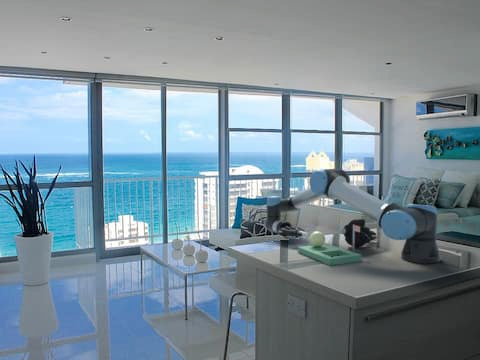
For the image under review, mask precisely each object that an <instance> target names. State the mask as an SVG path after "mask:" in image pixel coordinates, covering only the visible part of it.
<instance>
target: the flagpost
mask: <svg viewBox="0 0 480 360" xmlns="http://www.w3.org/2000/svg"><path fill="white" fill-rule="evenodd" d="M355 231H357V232H360V226H356V225H353V246H352V252H354V253H356V252H355V249H356V248H355Z"/></svg>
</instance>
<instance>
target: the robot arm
mask: <svg viewBox="0 0 480 360" xmlns="http://www.w3.org/2000/svg"><path fill="white" fill-rule="evenodd" d="M308 181H309V188H306V189H305V190H302V191H301V192H299V193H296V194H295V195H293V196H290V197H288V198H282V197H281V196H279V195H269V196H267V198H266V218H265V220H264V221H263V227H264V228H265V229H266V230H267V231H269V232H271V233H275V234H276V235H277V234H278V236H283V237H288V236H290V237H295V239H297V238H302V239H304V240H307V239H308V240H309V233H308V232H306V230H305V229H303V228H302V227H301V226H298V227H297V228H296V227H295V226H293V225H292V223H291V222H289V221H285V220H283V219H282V213H290V212H296V211H297V212H298V211H299V210H300V209H301V208H302V207H305V206H307V205H310V204H312V203H314V202H316V201H320V199H323V198H328V199H330V200H332V201H333V200H338V201H341V202H342V203H344V204H346V205H348V206H349V207H350V208H353V209H354V210H356V211H358V212H360V213H362V214H364V215H365V216H367V217H369V218H370V219H372V220H373V221H376V222H377V225H378V227H379V228H381V229H382V233H383V234H384V235H385V236H386V237H387V238H389V239H392V240H395V241H404V244H403V247H402V249H401V253H400V255H401V256H400V257H401V259H402V260H405V261H407V262H412V263H416V264H417V263H418V264H437V263H440V262H441V258H442V257H441V253H440V249H439V247H438V243H437V228H438V227H437V221H438V213H437V211H438V210H437V207H436V206H434V205H426V204H425V205H424V204H414V203H407V204H406V206H405V207H403V206H402V205H399V204H398V203H395V202H390V203H387V202H385V201H384V200H381V199H379V198H377V197H376V196H374V195H373V194H370V193H369V192H366V191H364V190H363V189H361V188H359V187H357V186H355V185H353V184H351V183H350V182H351V178H350V175H349V174H348V172H347V171H345V170H343V169H341V168H328V169H327V168H325V169H323V168H320V169H316V170H314V171H313V172H312V173H311V174H310V177H309V180H308Z"/></svg>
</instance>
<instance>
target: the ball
mask: <svg viewBox="0 0 480 360" xmlns="http://www.w3.org/2000/svg"><path fill="white" fill-rule="evenodd" d="M309 242H310V244H311V245H313V246H315V247H320V246H322V245H323V244H326V236H325V234H324V233H323V232H321V231H318V230H317V231H313V232H312V233H311V234H310V236H309Z"/></svg>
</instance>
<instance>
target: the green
mask: <svg viewBox="0 0 480 360" xmlns="http://www.w3.org/2000/svg"><path fill="white" fill-rule="evenodd" d="M298 252H299V254H301V253H302V254H301V255H303V254H305V255H307V256H306V257H308V256H310V257H312V258H311V259H313V258H314V259H313V260H315V259H317V260H319V261H318V262H320V261H321V262H320V263H322V262H323V264H325V265H327V264H328V266H333V265H334V266H335V264H336V265H340V264H341V265H342V264H350V263H357V262H358V263H359V262H362V259H363V258H362V254H360V253H357V252H355V253H354V252H353V251H351V250H347V249H344V248H342V247H339V246H336V245H333V244H330V243H324V244H323V245H322V246H320V247H315V246H313V245H312V244H311V245H303V246H298V247H297V253H298ZM305 255H304V256H305ZM337 255H339V256H337ZM331 256H333V257H331ZM310 257H309V258H310ZM317 260H316V261H317Z"/></svg>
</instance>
